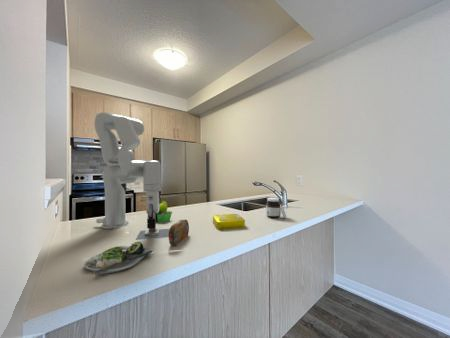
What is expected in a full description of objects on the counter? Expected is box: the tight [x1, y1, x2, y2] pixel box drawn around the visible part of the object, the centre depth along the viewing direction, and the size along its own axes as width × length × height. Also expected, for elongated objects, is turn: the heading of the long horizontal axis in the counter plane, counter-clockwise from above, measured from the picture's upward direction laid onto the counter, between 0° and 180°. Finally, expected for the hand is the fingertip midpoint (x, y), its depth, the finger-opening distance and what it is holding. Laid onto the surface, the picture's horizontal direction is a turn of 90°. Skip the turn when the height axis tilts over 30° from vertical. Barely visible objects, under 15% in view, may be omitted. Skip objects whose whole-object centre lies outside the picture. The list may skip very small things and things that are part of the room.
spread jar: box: [265, 197, 287, 219], centre depth 123 cm, size 12×11×12 cm
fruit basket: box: [156, 200, 173, 223], centre depth 114 cm, size 11×9×11 cm
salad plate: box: [83, 241, 153, 276], centre depth 65 cm, size 19×18×5 cm
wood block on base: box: [145, 213, 161, 236], centre depth 91 cm, size 6×5×9 cm
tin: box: [168, 219, 190, 247], centre depth 83 cm, size 15×3×8 cm, turn 168°
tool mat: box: [135, 228, 170, 241], centre depth 91 cm, size 16×12×1 cm
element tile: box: [212, 213, 246, 231], centre depth 107 cm, size 15×15×5 cm
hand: (152, 225), depth 90 cm, fingers open, 9 cm apart
